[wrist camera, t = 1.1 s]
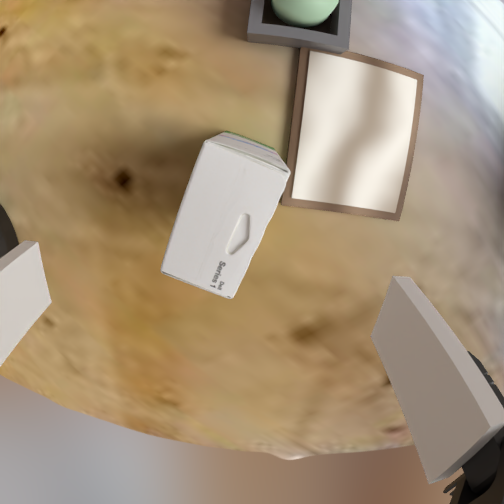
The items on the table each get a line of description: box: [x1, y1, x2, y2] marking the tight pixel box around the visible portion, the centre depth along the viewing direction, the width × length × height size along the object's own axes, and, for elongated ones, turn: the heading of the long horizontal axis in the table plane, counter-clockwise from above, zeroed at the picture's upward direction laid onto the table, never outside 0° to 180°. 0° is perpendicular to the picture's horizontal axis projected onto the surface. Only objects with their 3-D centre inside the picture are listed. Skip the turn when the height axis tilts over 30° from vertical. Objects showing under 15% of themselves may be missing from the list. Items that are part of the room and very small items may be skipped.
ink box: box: [161, 131, 290, 299], centre depth 21 cm, size 8×5×12 cm, turn 158°
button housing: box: [247, 0, 352, 55], centre depth 18 cm, size 8×8×3 cm
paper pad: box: [281, 47, 424, 221], centre depth 24 cm, size 12×15×1 cm
